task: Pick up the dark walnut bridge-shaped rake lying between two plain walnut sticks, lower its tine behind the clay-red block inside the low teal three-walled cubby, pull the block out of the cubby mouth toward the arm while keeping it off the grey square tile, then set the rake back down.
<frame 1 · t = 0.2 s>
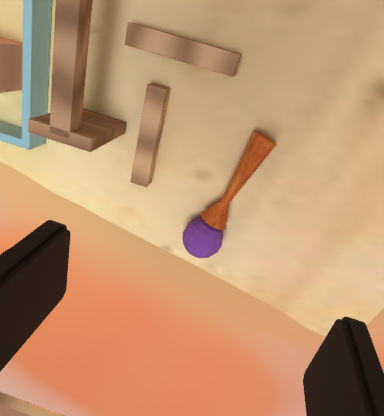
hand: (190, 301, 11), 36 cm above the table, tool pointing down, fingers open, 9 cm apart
plain stick A: (152, 135, 47), on the table
clay-red block: (6, 61, 47), on the table
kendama: (228, 192, 49), on the table
plain stick B: (185, 49, 42), on the table
cubby: (6, 76, 48), on the table
crook rake: (112, 19, 42), on the table
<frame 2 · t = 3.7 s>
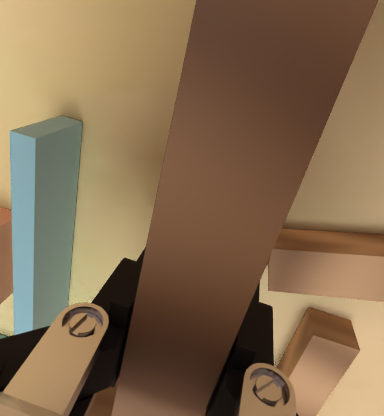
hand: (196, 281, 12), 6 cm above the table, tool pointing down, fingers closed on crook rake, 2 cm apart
plain stick A: (287, 383, 23), on the table
crook rake: (227, 184, 17), on the table, touching gripper
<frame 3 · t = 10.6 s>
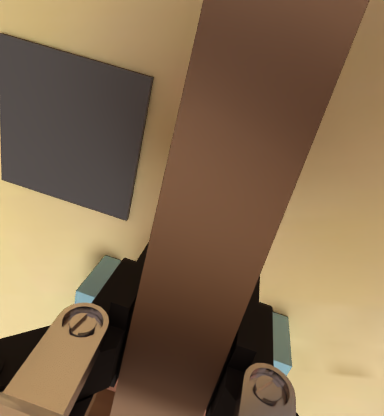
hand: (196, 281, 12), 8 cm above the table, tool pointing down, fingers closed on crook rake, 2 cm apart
grey square tile: (70, 133, 20), on the table
cubby: (160, 390, 28), on the table
crook rake: (223, 197, 18), point 2 cm above the table, touching clay-red block, gripper
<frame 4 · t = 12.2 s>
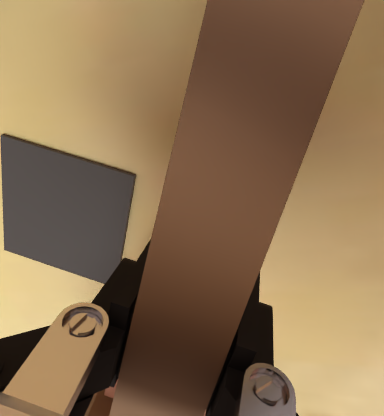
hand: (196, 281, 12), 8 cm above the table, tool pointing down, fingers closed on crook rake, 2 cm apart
grey square tile: (64, 215, 23), on the table
crook rake: (220, 205, 18), point 2 cm above the table, tilted 6°, touching clay-red block, gripper
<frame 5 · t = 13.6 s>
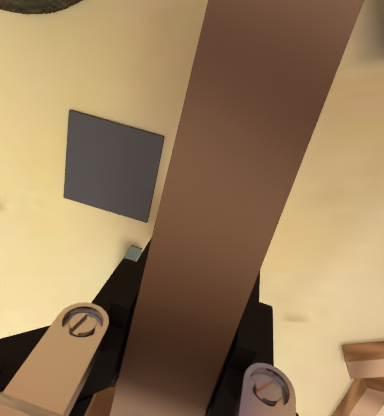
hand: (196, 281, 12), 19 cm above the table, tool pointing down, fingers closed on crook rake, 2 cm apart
plain stick A: (347, 408, 40), on the table
grey square tile: (111, 168, 32), on the table
crook rake: (220, 205, 18), point 12 cm above the table, tilted 6°, touching gripper
when the fingers open (8 cm above the table, at t = 18.5 s): crook rake drops 1 cm, on the table.
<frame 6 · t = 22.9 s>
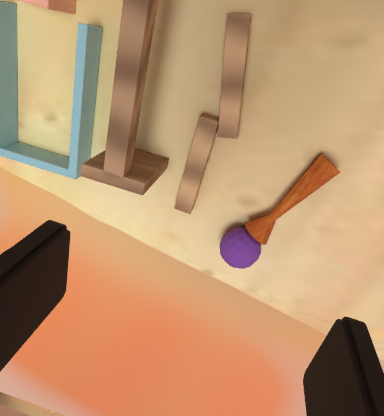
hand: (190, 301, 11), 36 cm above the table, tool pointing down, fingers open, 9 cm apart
plain stick A: (198, 163, 48), on the table
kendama: (274, 207, 48), on the table
plain stick B: (234, 78, 42), on the table
cubby: (51, 106, 48), on the table
crook rake: (158, 62, 43), on the table
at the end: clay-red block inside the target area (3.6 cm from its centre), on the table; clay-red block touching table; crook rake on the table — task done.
